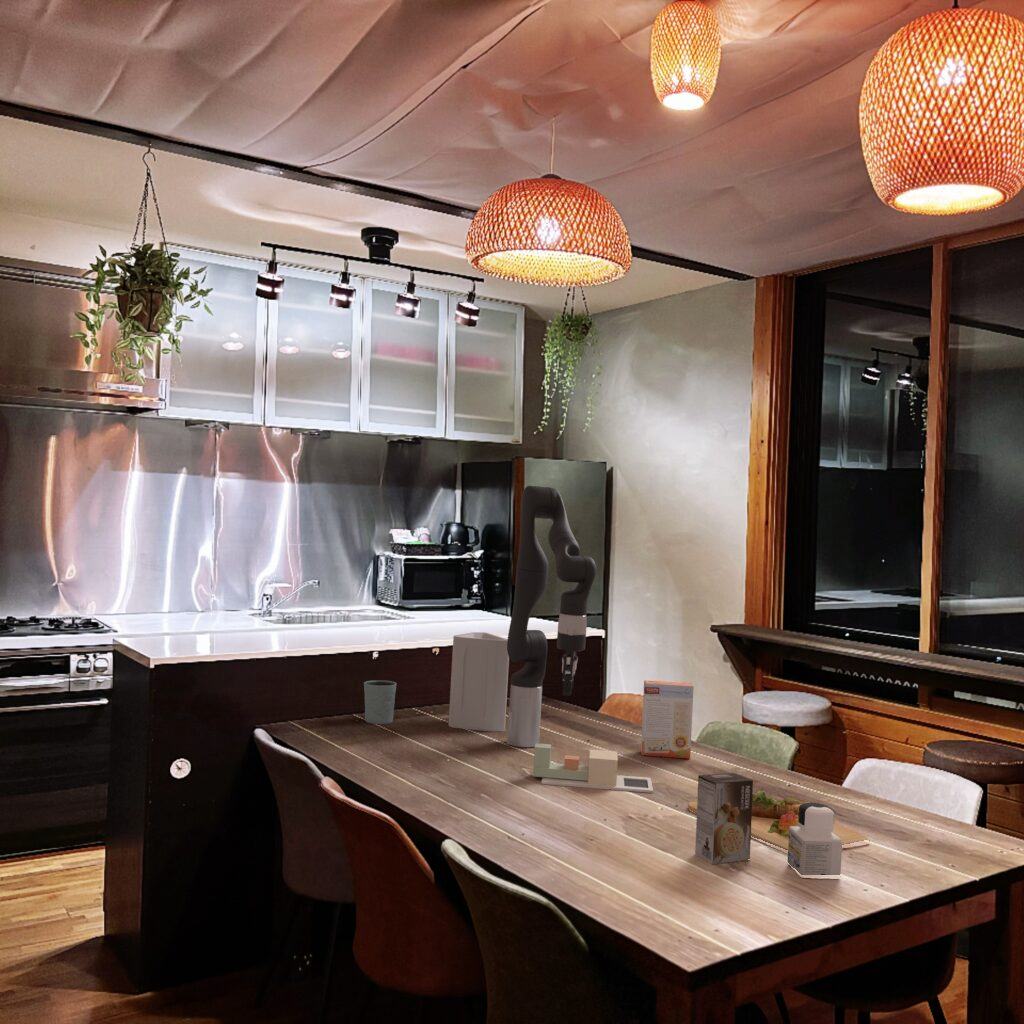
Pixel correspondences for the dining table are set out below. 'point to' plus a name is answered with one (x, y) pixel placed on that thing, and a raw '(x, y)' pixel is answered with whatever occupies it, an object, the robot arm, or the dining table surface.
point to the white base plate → (605, 775)
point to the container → (815, 842)
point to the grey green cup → (379, 701)
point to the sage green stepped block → (557, 765)
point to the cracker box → (667, 719)
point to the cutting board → (782, 820)
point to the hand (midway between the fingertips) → (567, 692)
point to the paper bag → (479, 682)
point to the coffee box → (724, 818)
